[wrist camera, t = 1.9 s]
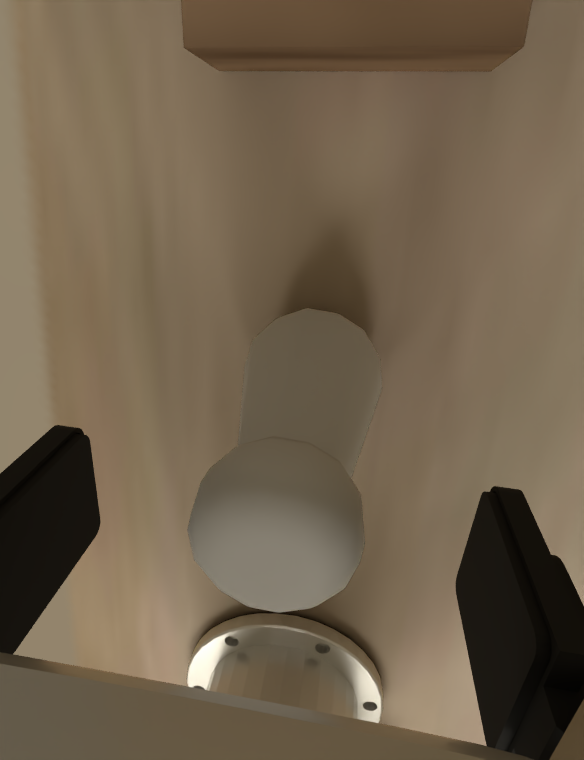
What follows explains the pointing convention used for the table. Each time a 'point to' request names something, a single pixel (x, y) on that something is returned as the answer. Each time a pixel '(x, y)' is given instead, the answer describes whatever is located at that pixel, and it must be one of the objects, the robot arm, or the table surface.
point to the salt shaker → (291, 467)
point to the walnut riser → (354, 34)
